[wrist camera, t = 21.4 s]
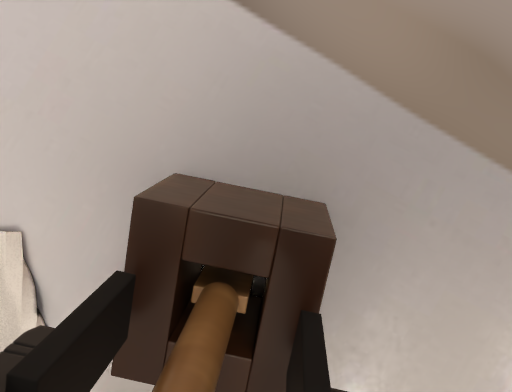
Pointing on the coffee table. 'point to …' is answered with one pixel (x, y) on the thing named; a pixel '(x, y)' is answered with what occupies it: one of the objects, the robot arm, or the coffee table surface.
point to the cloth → (15, 291)
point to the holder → (227, 257)
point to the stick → (206, 331)
